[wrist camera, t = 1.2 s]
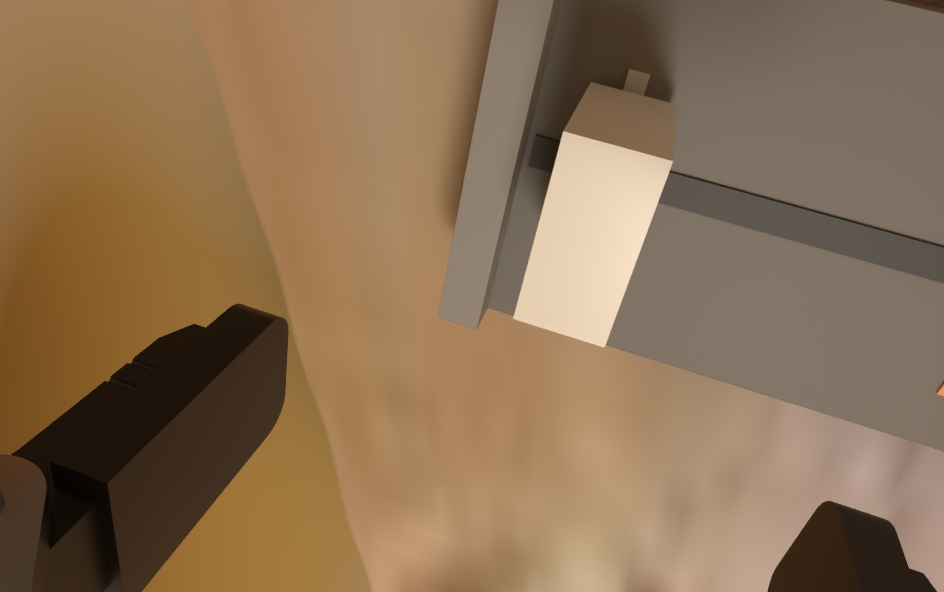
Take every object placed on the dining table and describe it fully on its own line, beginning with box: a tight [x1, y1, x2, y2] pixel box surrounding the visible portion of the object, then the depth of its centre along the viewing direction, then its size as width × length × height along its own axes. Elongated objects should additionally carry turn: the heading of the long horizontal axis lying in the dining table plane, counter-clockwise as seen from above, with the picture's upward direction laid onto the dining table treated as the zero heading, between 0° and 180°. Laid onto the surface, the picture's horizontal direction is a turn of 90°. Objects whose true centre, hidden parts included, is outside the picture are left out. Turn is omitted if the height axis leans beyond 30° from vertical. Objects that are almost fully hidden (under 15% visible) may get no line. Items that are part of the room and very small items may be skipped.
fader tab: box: [513, 82, 676, 348], centre depth 18 cm, size 5×2×5 cm, turn 169°
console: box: [438, 0, 944, 451], centre depth 20 cm, size 12×22×4 cm, turn 79°
